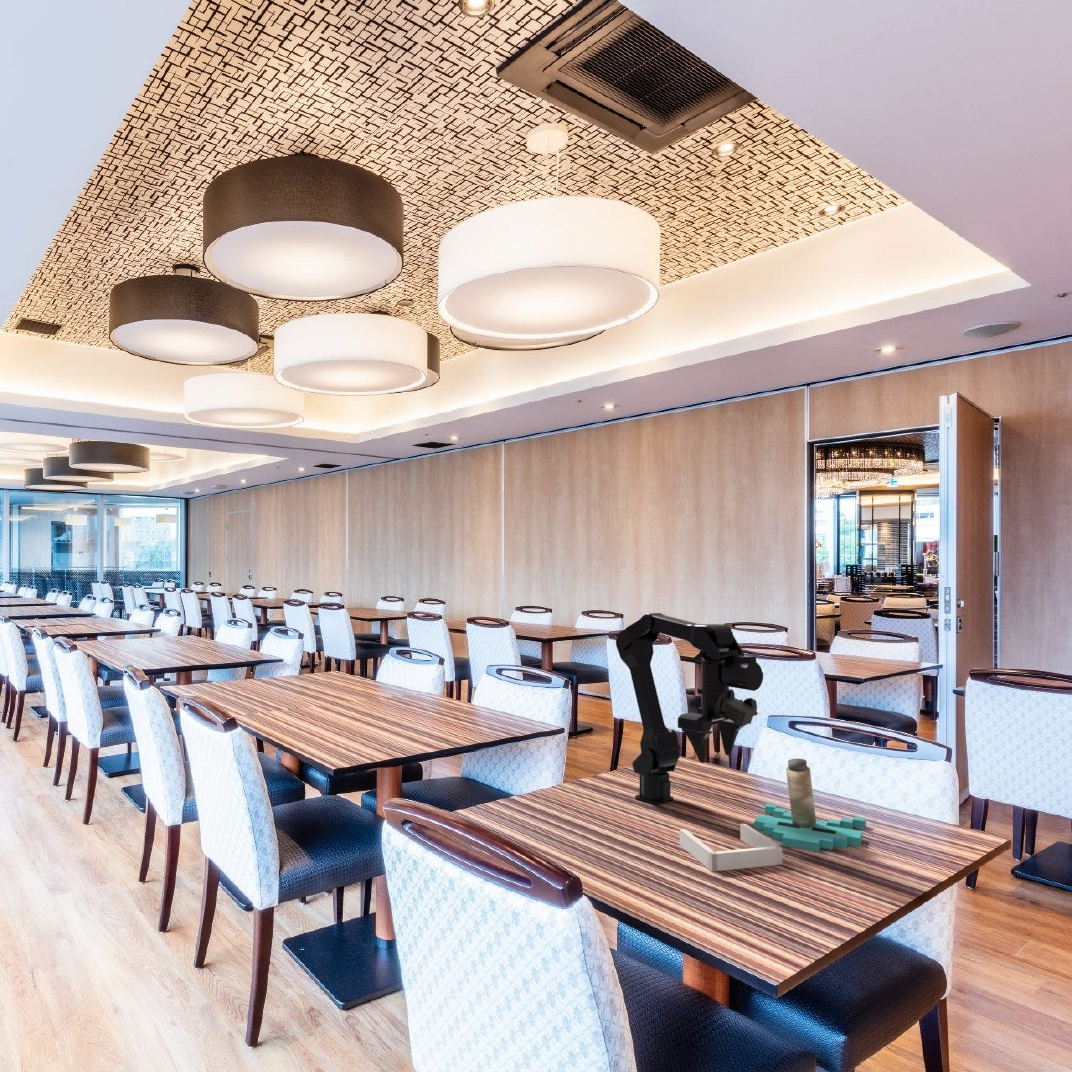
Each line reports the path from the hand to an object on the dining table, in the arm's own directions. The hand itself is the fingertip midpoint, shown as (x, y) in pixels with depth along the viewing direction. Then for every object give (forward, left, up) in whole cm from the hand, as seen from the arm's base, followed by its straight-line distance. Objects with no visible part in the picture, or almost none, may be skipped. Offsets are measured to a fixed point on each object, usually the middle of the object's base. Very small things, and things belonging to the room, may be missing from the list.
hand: (715, 758), depth 161 cm
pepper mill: (+15, +9, -11) cm, 21 cm away
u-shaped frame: (+12, -13, -13) cm, 22 cm away
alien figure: (+16, +9, -14) cm, 23 cm away
